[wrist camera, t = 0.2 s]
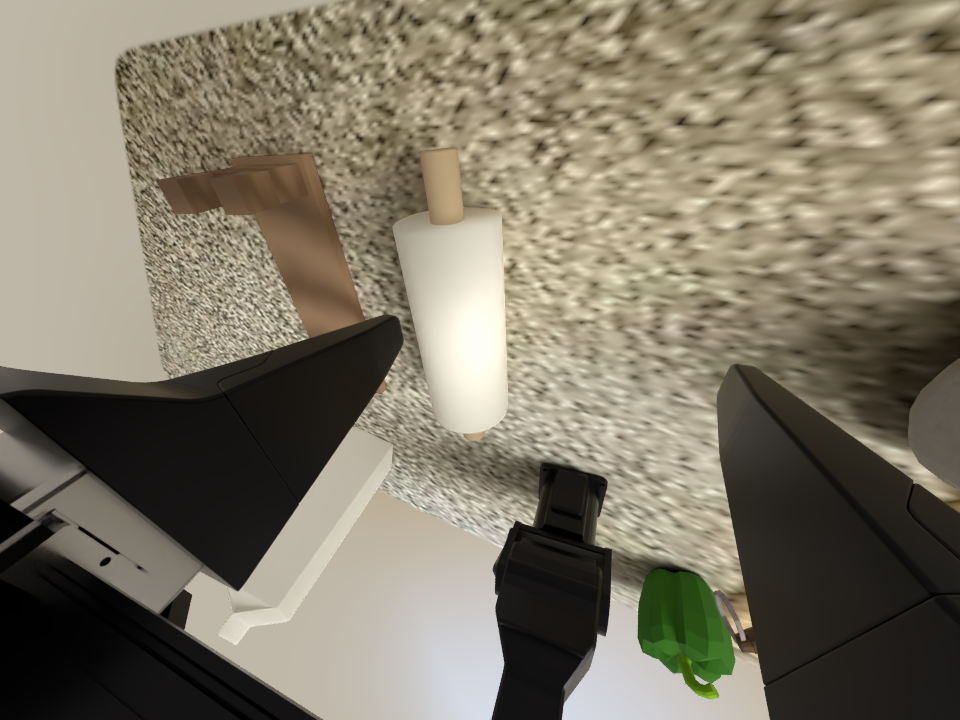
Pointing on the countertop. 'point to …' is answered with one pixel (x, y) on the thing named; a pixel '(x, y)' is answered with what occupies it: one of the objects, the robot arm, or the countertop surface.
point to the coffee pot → (935, 442)
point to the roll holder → (282, 229)
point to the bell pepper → (685, 629)
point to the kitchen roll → (457, 299)
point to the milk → (310, 535)
